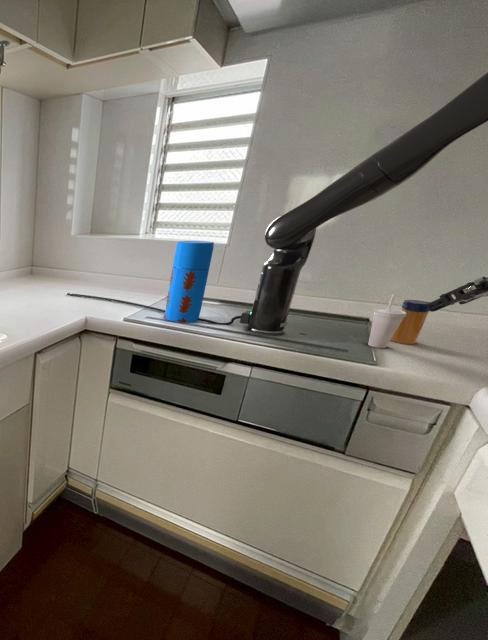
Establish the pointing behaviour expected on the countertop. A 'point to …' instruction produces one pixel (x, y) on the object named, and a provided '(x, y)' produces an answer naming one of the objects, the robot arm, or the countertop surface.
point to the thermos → (188, 280)
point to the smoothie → (385, 325)
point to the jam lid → (415, 305)
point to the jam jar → (410, 327)
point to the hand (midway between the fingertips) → (444, 304)
